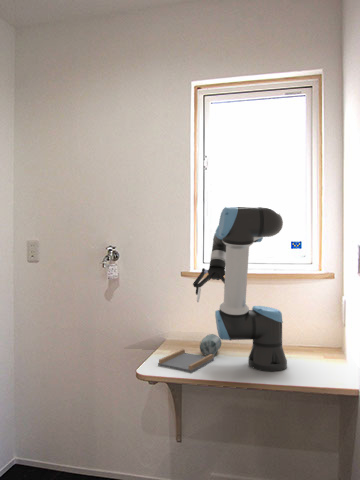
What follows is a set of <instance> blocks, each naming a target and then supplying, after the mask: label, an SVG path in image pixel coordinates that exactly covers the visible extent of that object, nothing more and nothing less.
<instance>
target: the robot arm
mask: <svg viewBox="0 0 360 480" xmlns="http://www.w3.org/2000/svg"><path fill="white" fill-rule="evenodd" d="M283 224H284V221H283V217H282V216H281V214H280V213H279V212H278V211H277V210H275V209H274V208H272V207H270V206H265V205H229V206H225V207H223V209H222V210H221V213H220V216H219V221H218V225H217V227H216V229H215V233H214V236H213V238H212V249H211V254H210V261H209V267H208V269H205V268H204V267H203V268H202V269H201V272H200V273H199V275H198V276H197V278H196V279H195V280H194V281H193V283H192V286H193V287H194V288H196V289H195V295H196V296H197V297H196V302H197V303H200V297H201V292H202V287H203V286H204V285H205V284H206V283H207V282H209V281H210V280H212V281H213V280H216V281H219V280H221V282H222V283H223V284H224V287H223V289H224V291H223V302H222V303H220V304H219V309H217V310H215V312H214V316H215V318H214V319H215V323H216V331H217V336H218V337H219V338H220V339H221V341H222V340H224V341H239V340H240V341H242V340H243V341H246V340H247V341H249V340H252V347H251V349H250V353H249V356H248V360H247V361H248V366H249V367H251V368H252V369H255V370H259V371H263V372H264V371H265V372H279V371H283V370H285V369H287V367H288V359H287V357H286V355H285V351H284V348H283V323H284V322H283V314H282V312H281V310H279V309H277V308H273V307H270V306H265V305H254V306H252V308H251V309H250V307H249V305H248V304H246V302H247V301H246V300H247V286H248V269H249V255H250V252H249V251H250V247H251V246H252V245H253V244H254V243H260V242H262V241H263V238H266V237H267V238H269V237H273V236H276V235H278V234H279V233H280V232H281V231H282V228H283V226H284V225H283ZM206 274H207V275H206ZM205 275H206V276H205ZM204 276H205V277H204Z"/></svg>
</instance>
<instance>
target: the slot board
mask: <svg viewBox="0 0 360 480" xmlns="http://www.w3.org/2000/svg"><path fill="white" fill-rule="evenodd" d="M214 361H215V358H214V356H213V354H210V355H208V356H206V355H205V356H204V355H199V354H193V353H187V352H186V349H185V348H182V349H180V350H177V351H176V352H173V353H171V354H169V355H166V356H164V357H162V358H160V359H158V363H157V366H158V367H163V368H167V369H172V370H177V371H182V372H186V373H190V374H193V373H195V372H196V371H198V370H200V369H202V368H203V367H206V366H207V365H209V364H211V363H213V362H214Z"/></svg>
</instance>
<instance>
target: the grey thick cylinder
mask: <svg viewBox="0 0 360 480" xmlns="http://www.w3.org/2000/svg"><path fill="white" fill-rule="evenodd" d="M221 347H222V339H220V337H219V335H218V334H213V333H211V334H210V333H209V334H207V335H206V336H205V337H203V338H202V340H201V342H200V344H199V350H200V352H201V353H202V354H203V356H204V355H205V357H206V356H208V355H210V354H213V357H214V356H216V354H217V352H218V351H219V350H220V349H221Z"/></svg>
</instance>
